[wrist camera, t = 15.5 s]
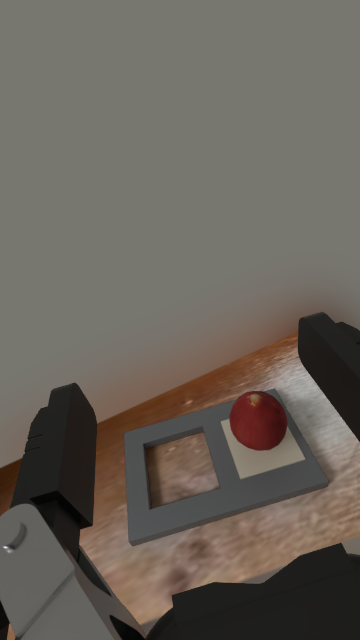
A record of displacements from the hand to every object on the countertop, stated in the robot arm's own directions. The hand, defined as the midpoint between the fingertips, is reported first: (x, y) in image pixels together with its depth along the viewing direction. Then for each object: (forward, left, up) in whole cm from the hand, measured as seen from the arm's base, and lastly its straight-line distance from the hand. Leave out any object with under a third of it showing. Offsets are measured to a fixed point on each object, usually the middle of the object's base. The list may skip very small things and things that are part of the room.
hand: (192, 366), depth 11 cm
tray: (0, +11, -26) cm, 28 cm away
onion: (+6, +10, -25) cm, 27 cm away
